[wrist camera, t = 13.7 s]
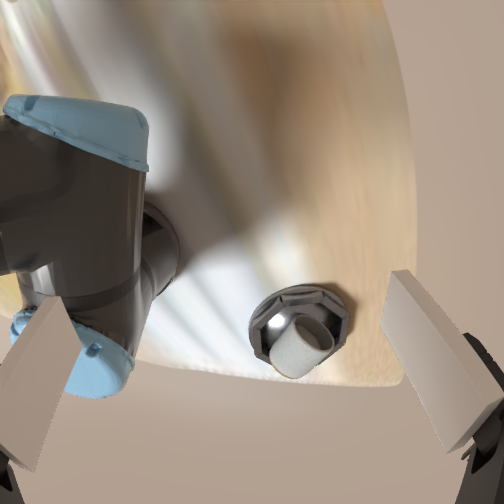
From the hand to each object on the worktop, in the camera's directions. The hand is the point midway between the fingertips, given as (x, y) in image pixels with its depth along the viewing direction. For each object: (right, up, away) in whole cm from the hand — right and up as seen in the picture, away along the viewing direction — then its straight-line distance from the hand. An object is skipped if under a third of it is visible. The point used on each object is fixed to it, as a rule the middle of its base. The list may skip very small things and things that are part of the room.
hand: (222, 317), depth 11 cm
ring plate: (+9, -10, +38) cm, 40 cm away
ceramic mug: (+10, -11, +38) cm, 40 cm away
